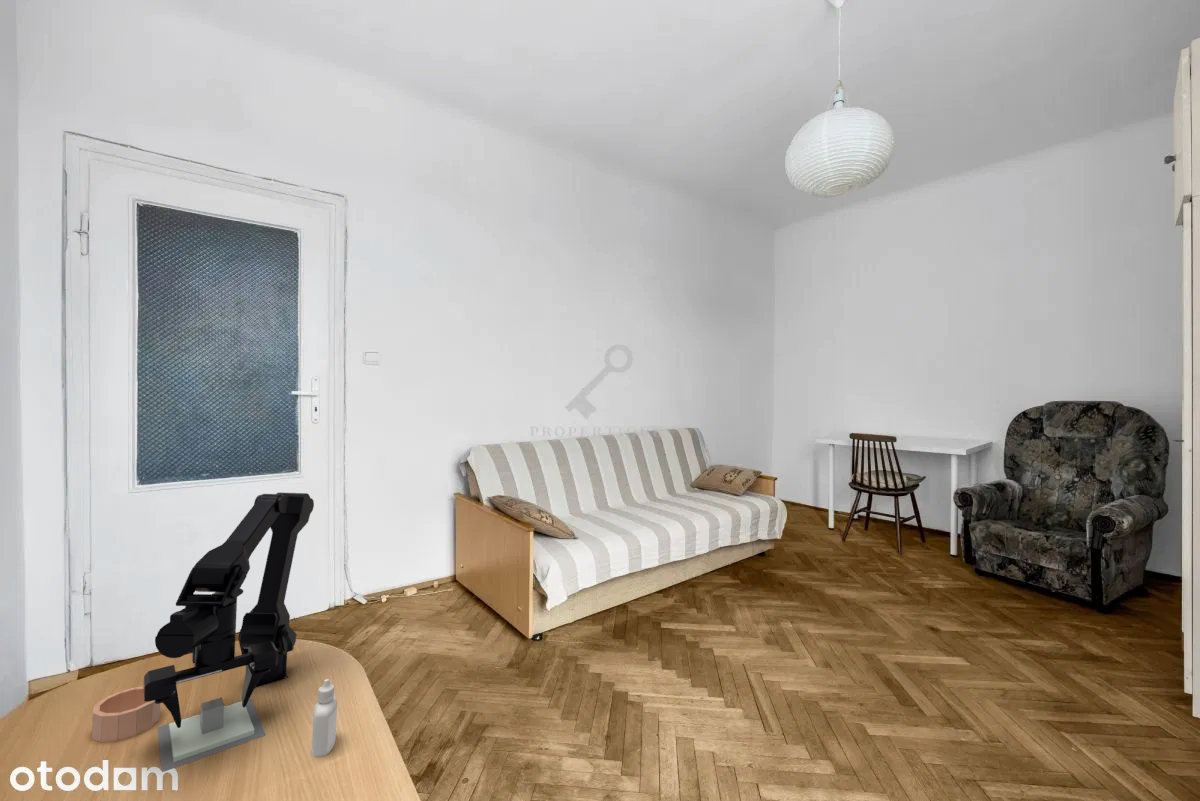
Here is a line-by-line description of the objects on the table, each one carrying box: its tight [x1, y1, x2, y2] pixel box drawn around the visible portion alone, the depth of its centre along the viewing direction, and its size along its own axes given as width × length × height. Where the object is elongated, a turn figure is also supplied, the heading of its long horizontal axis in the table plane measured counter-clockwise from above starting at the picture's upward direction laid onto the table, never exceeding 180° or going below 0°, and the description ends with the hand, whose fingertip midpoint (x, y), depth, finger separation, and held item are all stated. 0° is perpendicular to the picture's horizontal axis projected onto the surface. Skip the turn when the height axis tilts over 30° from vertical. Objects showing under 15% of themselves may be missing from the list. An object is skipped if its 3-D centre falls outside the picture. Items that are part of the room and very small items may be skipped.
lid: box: [168, 697, 254, 762], centre depth 91 cm, size 11×11×5 cm
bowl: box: [91, 686, 161, 743], centre depth 91 cm, size 9×9×5 cm
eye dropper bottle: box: [311, 678, 338, 758], centre depth 89 cm, size 4×6×12 cm
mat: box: [157, 698, 267, 773], centre depth 91 cm, size 14×14×1 cm
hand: (212, 716), depth 91 cm, fingers open, 9 cm apart
